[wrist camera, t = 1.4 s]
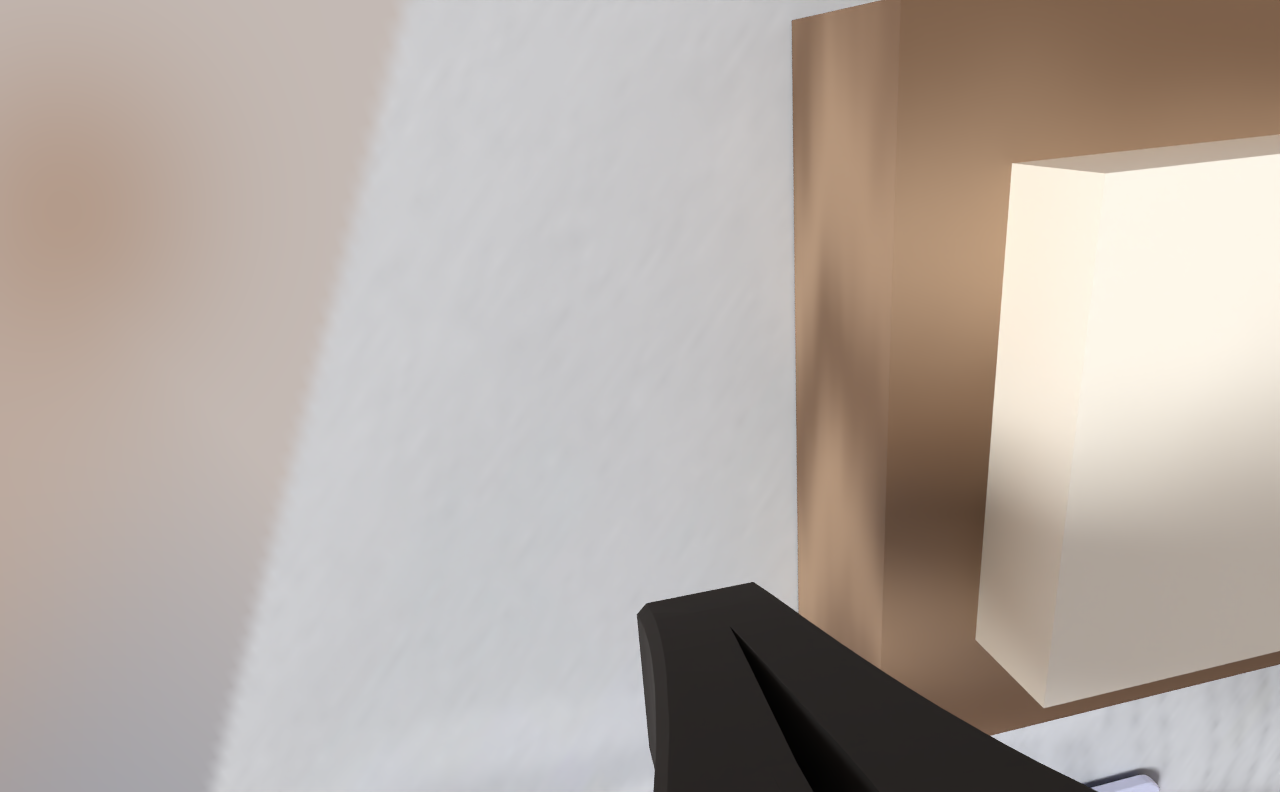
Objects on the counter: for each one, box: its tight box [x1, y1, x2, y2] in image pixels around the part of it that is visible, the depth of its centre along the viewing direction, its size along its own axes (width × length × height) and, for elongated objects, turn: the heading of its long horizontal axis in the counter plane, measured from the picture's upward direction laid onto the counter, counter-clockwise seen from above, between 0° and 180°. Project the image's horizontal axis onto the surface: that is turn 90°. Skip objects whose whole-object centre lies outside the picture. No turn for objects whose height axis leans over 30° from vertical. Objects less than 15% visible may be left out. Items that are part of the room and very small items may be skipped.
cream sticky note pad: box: [975, 134, 1280, 708], centre depth 14 cm, size 9×6×2 cm, turn 4°
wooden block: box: [792, 0, 1280, 736], centre depth 17 cm, size 14×12×4 cm
